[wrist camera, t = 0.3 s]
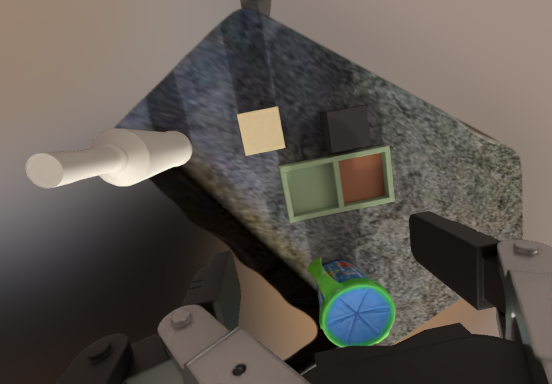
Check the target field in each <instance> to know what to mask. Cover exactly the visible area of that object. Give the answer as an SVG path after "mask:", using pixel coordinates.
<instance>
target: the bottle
mask: <svg viewBox="0 0 552 384" xmlns="http://www.w3.org/2000/svg"><path fill="white" fill-rule="evenodd" d="M191 154H192V145H191V142H190V140H189V139H188V138H187V137H186V136H185V135H184V134H182V133H180V132H177V131H166V132H155V131H143V130H131V129H109V130H106V131H104V132H101V133H100V134H99V135H98V136H97V137H96V138H95V139H94V140H93V142H92V145H91V149H90V150H80V151H60V152H48V153H38V154H35V155H33V156H31V157H30V159H28V161H27V164H26V172H27V175H28V177H29V179H30V180H31V181H32V182H33V183H35V184H36V185H37V186H40V187H42V188H53V187H57V186H61V185H65V184H69V183H72V182H75V181H78V180H81V179H85V178H89V177H93V176H97V175H99V176H100V177H101V178H102V179H104V180H105V181H106V182H108V183H111V184H114V185H116V186H130V185H133V184H135V183H138V182H140V181H142V180H145V179H147V178H149V177H151V176H153V175H156V174H158V173H160V172H162V171H165V170H167V169H169V168H171V167H178V166H180V165H183V164H185V163H186V162H187V161H188V160H189V159H190V157H191Z"/></svg>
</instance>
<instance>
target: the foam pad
mask: <svg viewBox="0 0 552 384" xmlns="http://www.w3.org/2000/svg"><path fill="white" fill-rule="evenodd" d="M237 117H238V122H239V127H240V131H241V136H242V140H243V145H244V150H245V154H246V155H251V154H256V153H261V152H266V151H271V150H276V149H281V148H285V143H284V138H283V132H282V127H281V122H280V116H279V111H278V106H277V107H272V108H267V109H262V110H257V111H251V112H246V113H241V114H237Z"/></svg>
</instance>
